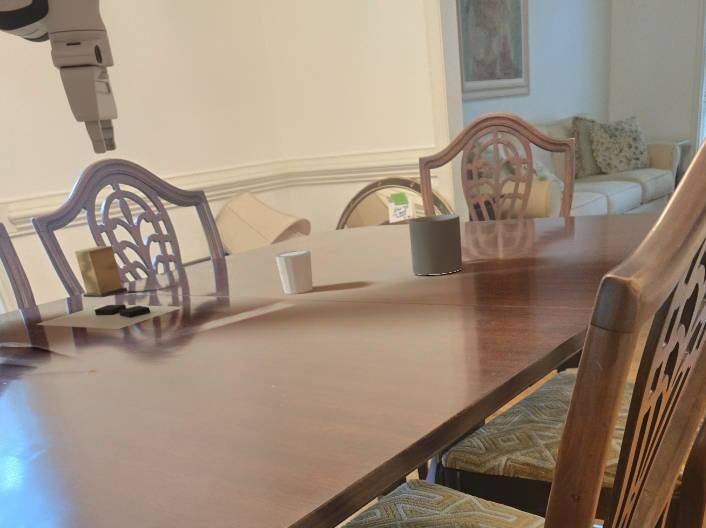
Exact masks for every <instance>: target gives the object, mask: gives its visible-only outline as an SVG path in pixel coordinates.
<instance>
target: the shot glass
mask: <svg viewBox="0 0 706 528" xmlns="http://www.w3.org/2000/svg"><path fill="white" fill-rule="evenodd" d="M311 254H312V253H311V251H310V250H293V251H292V250H291V251H286V252H282V253H278V254H275V256H274V257H275V261H276V264H277V269H278V273H279V277H280V281H281V285H282V288H283V289H282V290H283V292H284V294H286V295H297V294H303V293H308V292H311V291H313V290H314V289H313V287H314V286H313V272H312V257H311V256H312V255H311Z"/></svg>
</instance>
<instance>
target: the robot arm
mask: <svg viewBox="0 0 706 528" xmlns="http://www.w3.org/2000/svg"><path fill="white" fill-rule="evenodd" d="M0 32H3V33H6V34H9V35H13V36H15V37H20V38H21V39H24V40H25V41H29V42H33V43H43V42H47V41H49V43H50V46H51V47H50V48H51V50H50V57H51V61H52V64H53V66H54V67H55V68H56V69H57V70H58V71H59V75H60V76H59V77H60V80H61V82H62V86H63V89H64V92H65V95H66V98H67V101H68V102H67V103H68V105H69V107H70V110H71V113H72V115H73V118H74V119H75V121H76V122H77V123H84V126H85V129H86V132H87V135H88V137H89V139H90V141H91V144H92V148H93V152H94V153H95V154H97V155H98V154H105V153H107V152H110V151H115V150H116V149H117V145H116V140H115V130H114V129H115V128H114V124H113V123H114V122H113V120H118V117H119V116H118V115H119V113H118V108H117V105H116V100H115V96H114V92H113V89H112V88H113V87H112V85H111V81H110V76H109V73H108V68H110V67H114V66H115V61H114V57H113V53H112V49H111V48H112V47H111V44H110V40H109V39H110V38H109V35H108V30H107V28H106V25H105V23H104V21H103V19H102V15H101V11H100V0H0Z"/></svg>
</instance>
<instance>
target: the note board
mask: <svg viewBox="0 0 706 528" xmlns="http://www.w3.org/2000/svg"><path fill="white" fill-rule="evenodd" d="M107 305H116V304H111V303H104V304H100V305H96V306H93V307H90V308H86V309H83V310H79V311H76V312H73V313H69V314H66V315H63V316H59V317H56V318H53V319H49V320H46V321H41V322H39V323H36V324H35V325H36V326H53V327H54V326H55V327H68V328H69V327H71V328H89V329H105V330H107V329H108V330H120V329H124V328H126V327H129V326H131V325H135V324H138V323H141V322H144V321H146V320H149V319H153V318H156V317H159V316H162V315H164V314H168V313H171V312H174V311H177V310H181V309H183V308H184V306H172V305H171V306H168V305H144V304H143V305H141V304H140V305H139V304H138V305H137V304H124V305H125V306H126V308H131V307H135V306H144V307H149V309H150V313H148V314H144V315H140V316H136V317H132V318H129V317H124V316H120V313H117V314H114V315H96V314H95V310H96V309H98V308H101V307H104V306H107Z"/></svg>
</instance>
